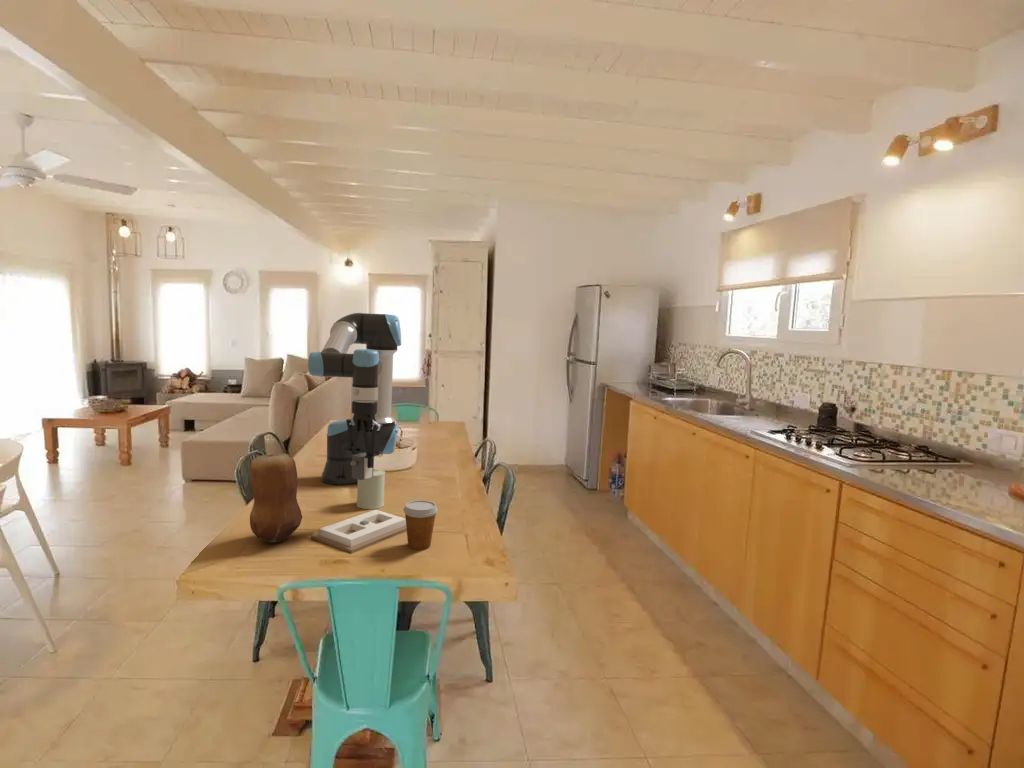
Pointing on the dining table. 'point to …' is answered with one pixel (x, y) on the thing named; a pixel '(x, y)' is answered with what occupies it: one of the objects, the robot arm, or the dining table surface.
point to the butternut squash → (274, 497)
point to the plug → (358, 466)
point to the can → (371, 491)
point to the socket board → (361, 530)
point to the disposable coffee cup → (420, 523)
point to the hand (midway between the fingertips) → (362, 476)
